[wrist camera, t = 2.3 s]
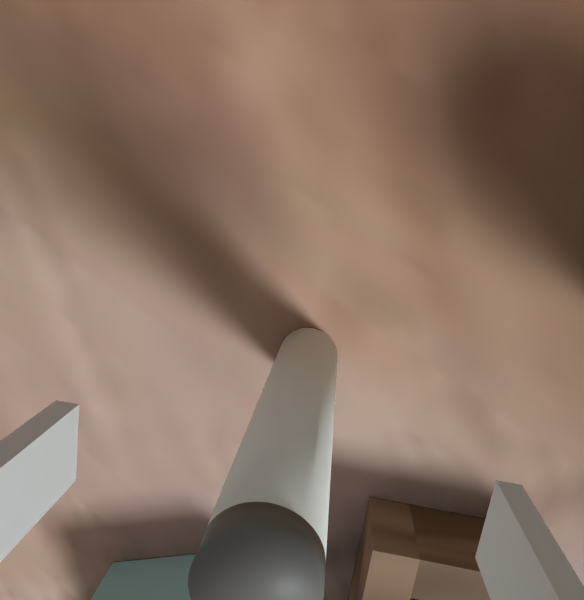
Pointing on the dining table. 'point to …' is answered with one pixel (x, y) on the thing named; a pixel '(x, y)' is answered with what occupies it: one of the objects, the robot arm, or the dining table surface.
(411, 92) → the dining table surface
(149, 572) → the teal square ring
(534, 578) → the robot arm
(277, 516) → the pale grey rod
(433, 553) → the brown square wooden ring
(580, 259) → the dining table surface
